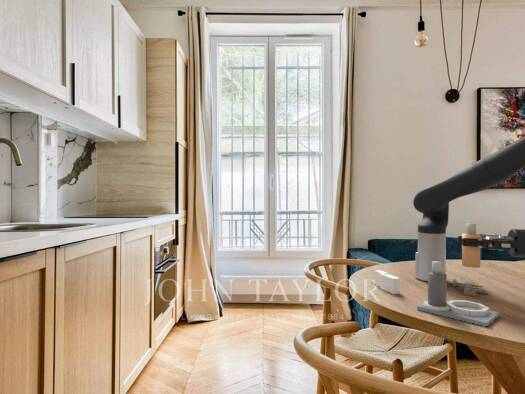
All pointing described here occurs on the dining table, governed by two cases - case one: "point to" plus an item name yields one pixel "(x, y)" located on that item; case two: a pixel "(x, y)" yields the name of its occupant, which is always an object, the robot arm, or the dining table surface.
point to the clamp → (469, 288)
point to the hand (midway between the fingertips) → (460, 240)
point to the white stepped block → (387, 282)
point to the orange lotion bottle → (470, 248)
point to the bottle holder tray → (453, 301)
